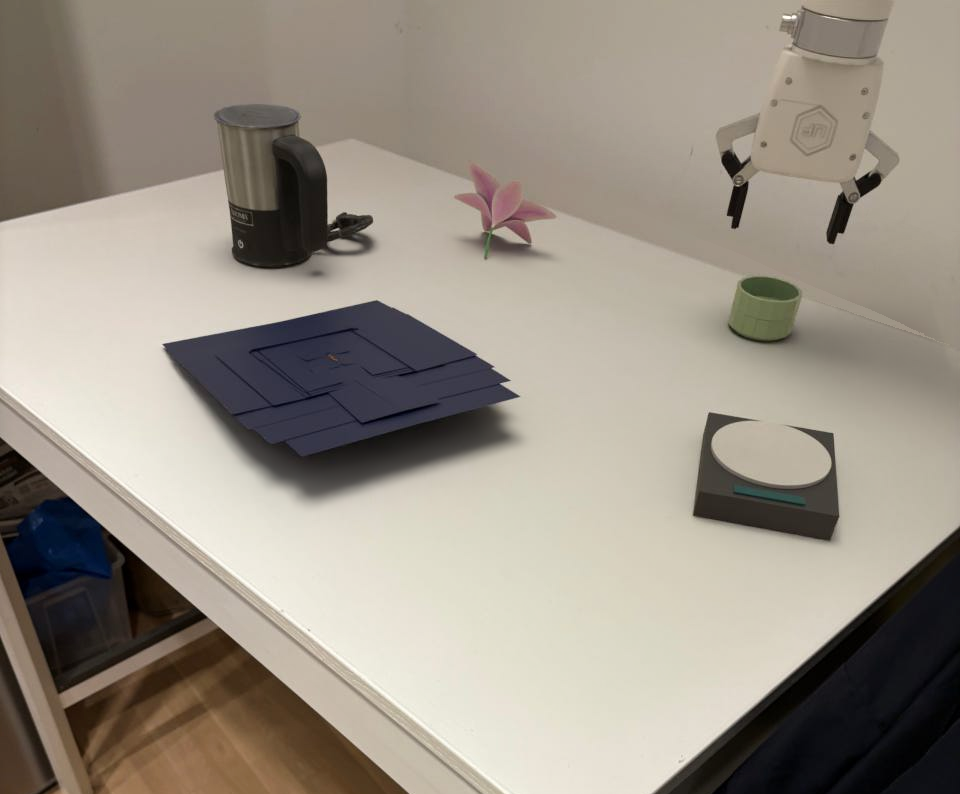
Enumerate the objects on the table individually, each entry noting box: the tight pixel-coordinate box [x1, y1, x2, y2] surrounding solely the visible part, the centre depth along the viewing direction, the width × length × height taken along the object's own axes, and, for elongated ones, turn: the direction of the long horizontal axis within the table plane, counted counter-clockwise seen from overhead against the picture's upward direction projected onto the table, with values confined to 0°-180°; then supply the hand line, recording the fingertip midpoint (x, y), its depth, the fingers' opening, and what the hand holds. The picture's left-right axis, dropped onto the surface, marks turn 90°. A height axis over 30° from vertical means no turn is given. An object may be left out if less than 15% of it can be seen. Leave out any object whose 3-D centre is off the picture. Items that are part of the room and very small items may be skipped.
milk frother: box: [212, 103, 374, 268], centre depth 106 cm, size 14×16×15 cm
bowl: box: [727, 274, 803, 342], centre depth 100 cm, size 7×7×5 cm
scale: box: [692, 411, 840, 541], centre depth 79 cm, size 11×13×3 cm
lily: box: [453, 160, 558, 260], centre depth 112 cm, size 12×12×10 cm
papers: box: [161, 299, 522, 457], centre depth 87 cm, size 24×30×4 cm
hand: (782, 231), depth 95 cm, fingers open, 9 cm apart
